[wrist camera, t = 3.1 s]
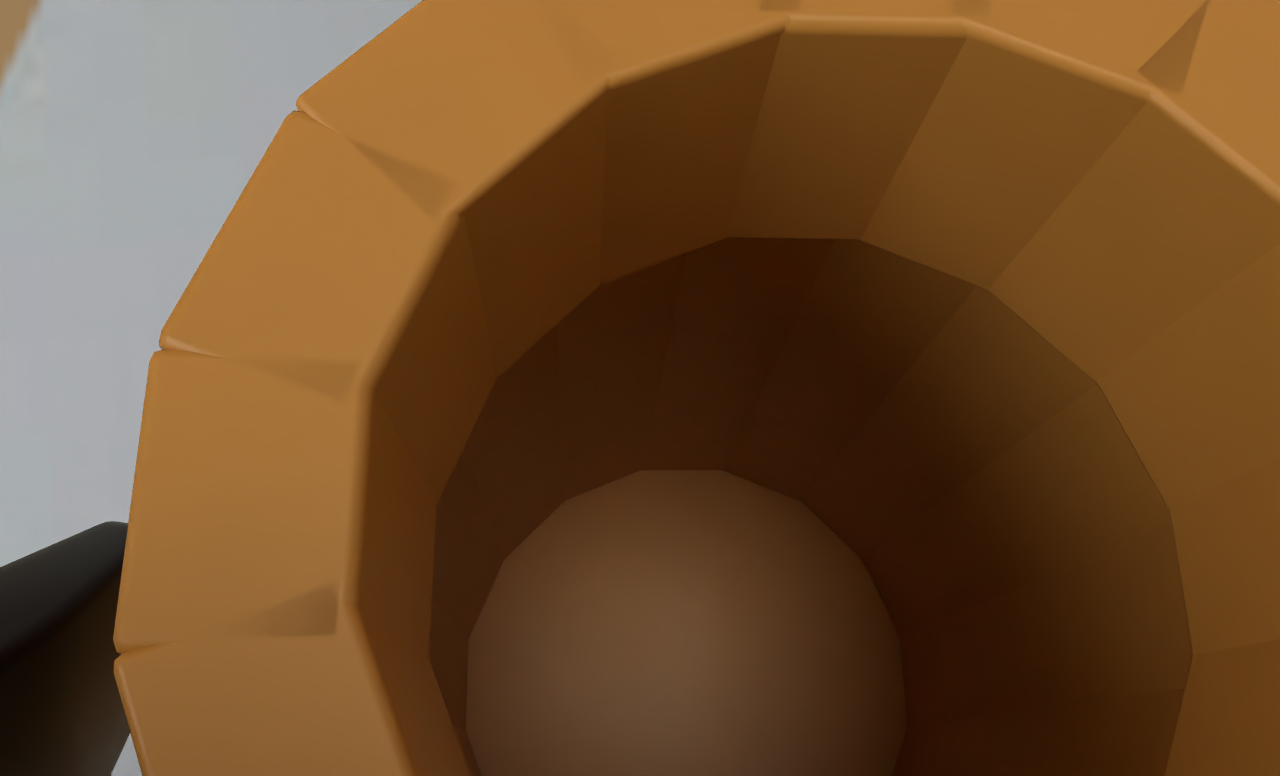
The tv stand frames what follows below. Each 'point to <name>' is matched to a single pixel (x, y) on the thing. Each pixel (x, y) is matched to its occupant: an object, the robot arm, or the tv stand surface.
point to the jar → (731, 403)
